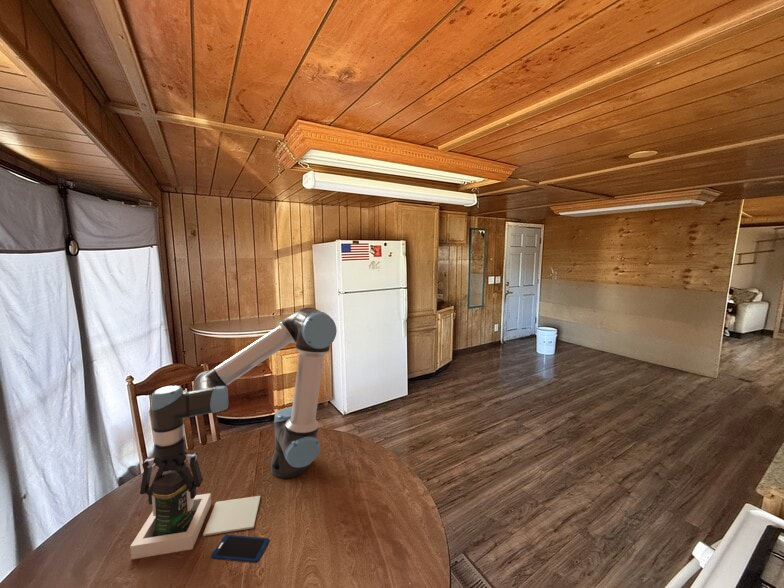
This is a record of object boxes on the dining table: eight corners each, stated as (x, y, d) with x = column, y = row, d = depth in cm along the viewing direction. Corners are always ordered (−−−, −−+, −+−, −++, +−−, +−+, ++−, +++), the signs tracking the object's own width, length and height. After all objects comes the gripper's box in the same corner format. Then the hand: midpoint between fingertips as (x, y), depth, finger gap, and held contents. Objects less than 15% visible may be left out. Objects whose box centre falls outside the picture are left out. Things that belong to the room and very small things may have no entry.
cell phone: (225, 536, 96) (225, 534, 96) (270, 540, 95) (270, 538, 95) (209, 559, 89) (209, 557, 89) (258, 563, 88) (258, 561, 88)
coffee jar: (174, 545, 92) (170, 485, 90) (149, 541, 94) (145, 482, 91) (198, 518, 102) (195, 463, 100) (176, 514, 103) (173, 460, 101)
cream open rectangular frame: (211, 504, 108) (210, 493, 107) (192, 549, 91) (191, 536, 91) (160, 511, 104) (159, 500, 104) (131, 559, 88) (130, 546, 87)
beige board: (260, 497, 111) (260, 495, 111) (253, 528, 99) (253, 526, 99) (216, 503, 108) (216, 501, 108) (203, 536, 96) (203, 534, 95)
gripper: (213, 429, 100) (216, 495, 103) (134, 436, 96) (140, 506, 98) (205, 442, 93) (208, 514, 96) (120, 451, 88) (126, 526, 91)
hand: (173, 509), depth 97 cm, fingers closed on coffee jar, 8 cm apart
